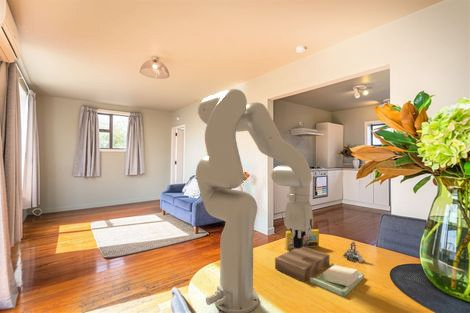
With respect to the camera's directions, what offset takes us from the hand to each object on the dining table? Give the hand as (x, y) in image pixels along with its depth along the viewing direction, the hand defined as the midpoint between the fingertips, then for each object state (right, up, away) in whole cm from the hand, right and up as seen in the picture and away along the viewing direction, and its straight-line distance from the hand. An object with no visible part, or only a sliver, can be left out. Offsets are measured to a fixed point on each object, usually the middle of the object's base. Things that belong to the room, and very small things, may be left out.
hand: (298, 247), depth 86 cm
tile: (+11, -4, -11) cm, 16 cm away
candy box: (+7, -8, +18) cm, 20 cm away
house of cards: (+22, -8, +5) cm, 24 cm away
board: (+2, -7, 0) cm, 7 cm away
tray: (+10, -7, -10) cm, 16 cm away
